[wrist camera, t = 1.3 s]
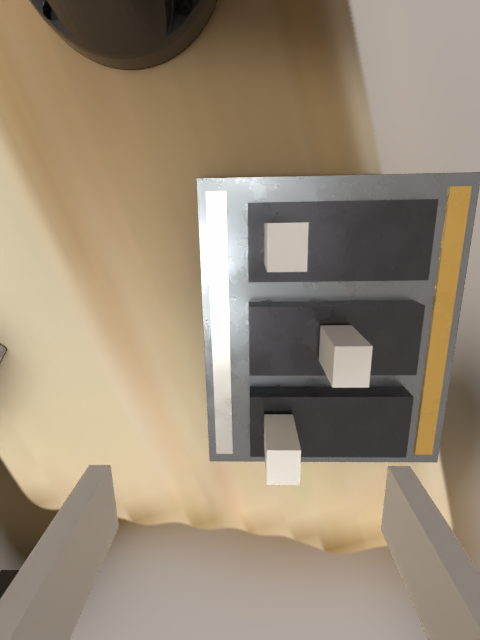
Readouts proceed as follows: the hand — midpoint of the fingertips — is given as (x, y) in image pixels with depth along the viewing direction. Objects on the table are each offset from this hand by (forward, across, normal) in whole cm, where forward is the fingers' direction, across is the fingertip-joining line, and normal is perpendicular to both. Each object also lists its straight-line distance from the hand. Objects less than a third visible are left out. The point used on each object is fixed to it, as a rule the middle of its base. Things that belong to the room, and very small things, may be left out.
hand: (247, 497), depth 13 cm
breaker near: (+17, +2, +8) cm, 19 cm away
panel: (+22, +7, 0) cm, 23 cm away
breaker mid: (+17, +7, 0) cm, 18 cm away
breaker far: (+17, +2, -8) cm, 19 cm away
